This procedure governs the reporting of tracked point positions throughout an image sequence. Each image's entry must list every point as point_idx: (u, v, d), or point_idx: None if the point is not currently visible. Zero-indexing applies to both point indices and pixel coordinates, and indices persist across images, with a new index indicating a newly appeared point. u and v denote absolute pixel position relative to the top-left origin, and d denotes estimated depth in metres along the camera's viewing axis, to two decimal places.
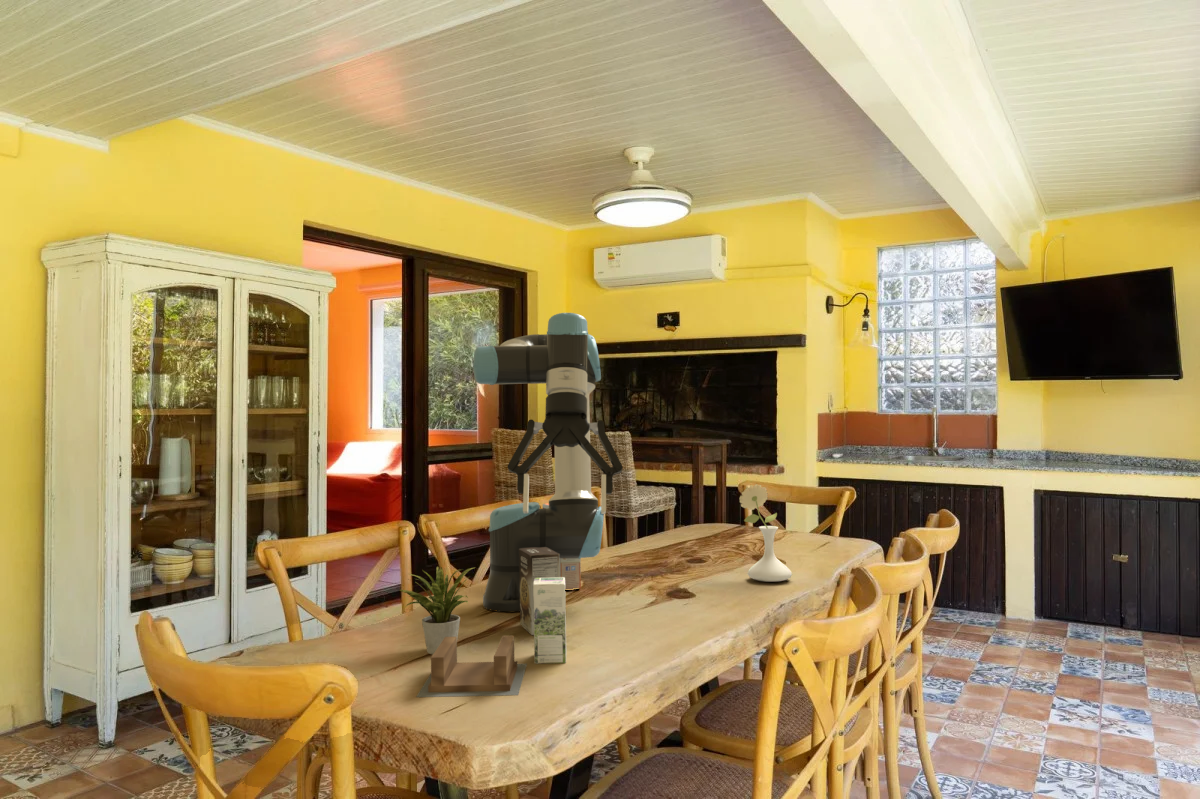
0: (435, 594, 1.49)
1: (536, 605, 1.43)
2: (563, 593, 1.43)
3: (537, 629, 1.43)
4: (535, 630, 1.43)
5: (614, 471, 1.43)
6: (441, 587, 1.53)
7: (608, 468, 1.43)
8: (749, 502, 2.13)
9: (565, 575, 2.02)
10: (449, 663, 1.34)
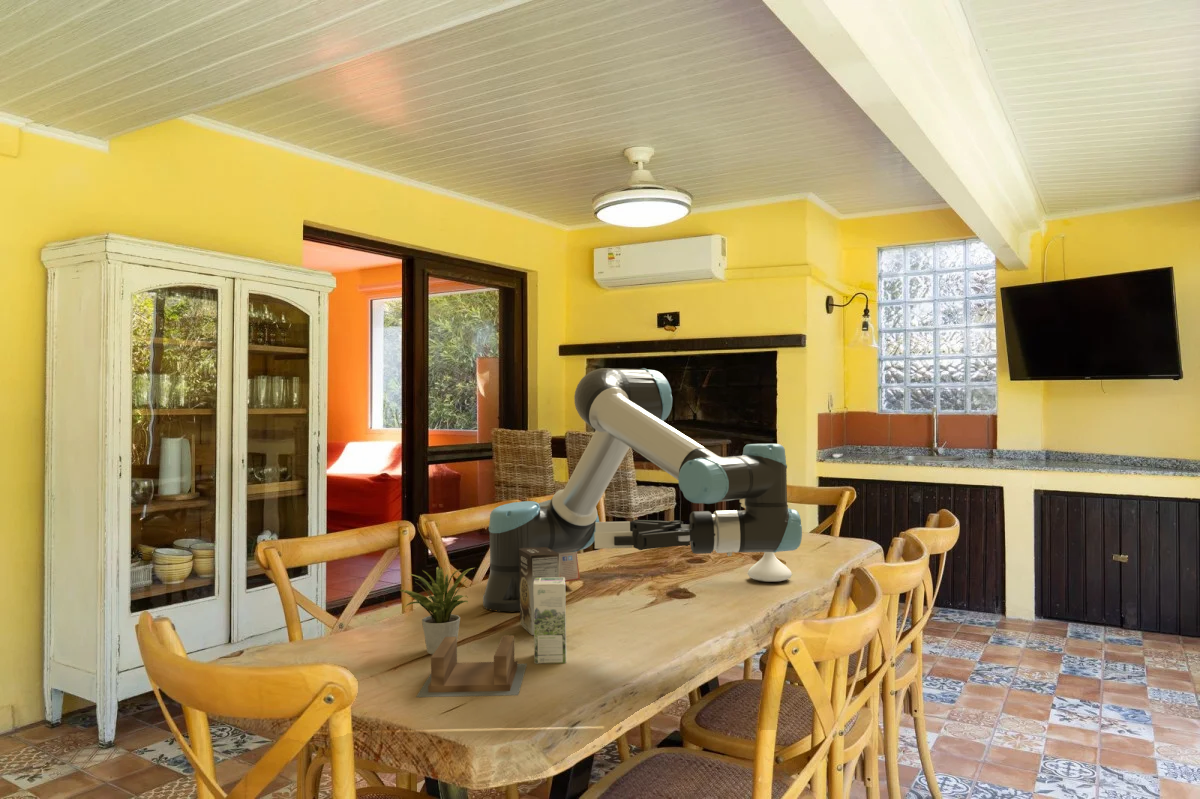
0: (435, 594, 1.49)
1: (536, 605, 1.43)
2: (563, 593, 1.43)
3: (537, 629, 1.43)
4: (535, 630, 1.43)
5: None
6: (441, 587, 1.53)
7: None
8: None
9: (563, 565, 2.03)
10: (449, 663, 1.34)
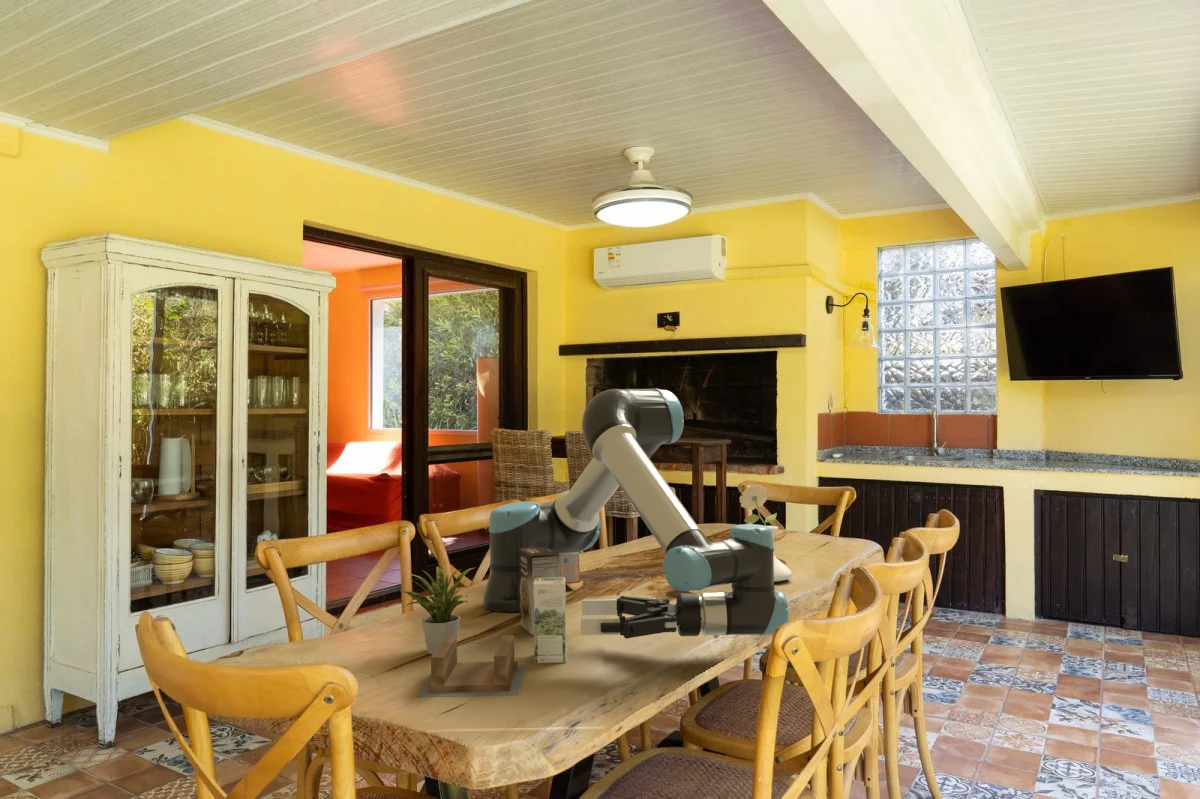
0: (435, 594, 1.49)
1: (536, 605, 1.43)
2: (563, 593, 1.43)
3: (537, 629, 1.43)
4: (535, 630, 1.43)
5: None
6: (441, 587, 1.52)
7: None
8: (749, 502, 2.13)
9: (564, 567, 2.02)
10: (449, 663, 1.34)
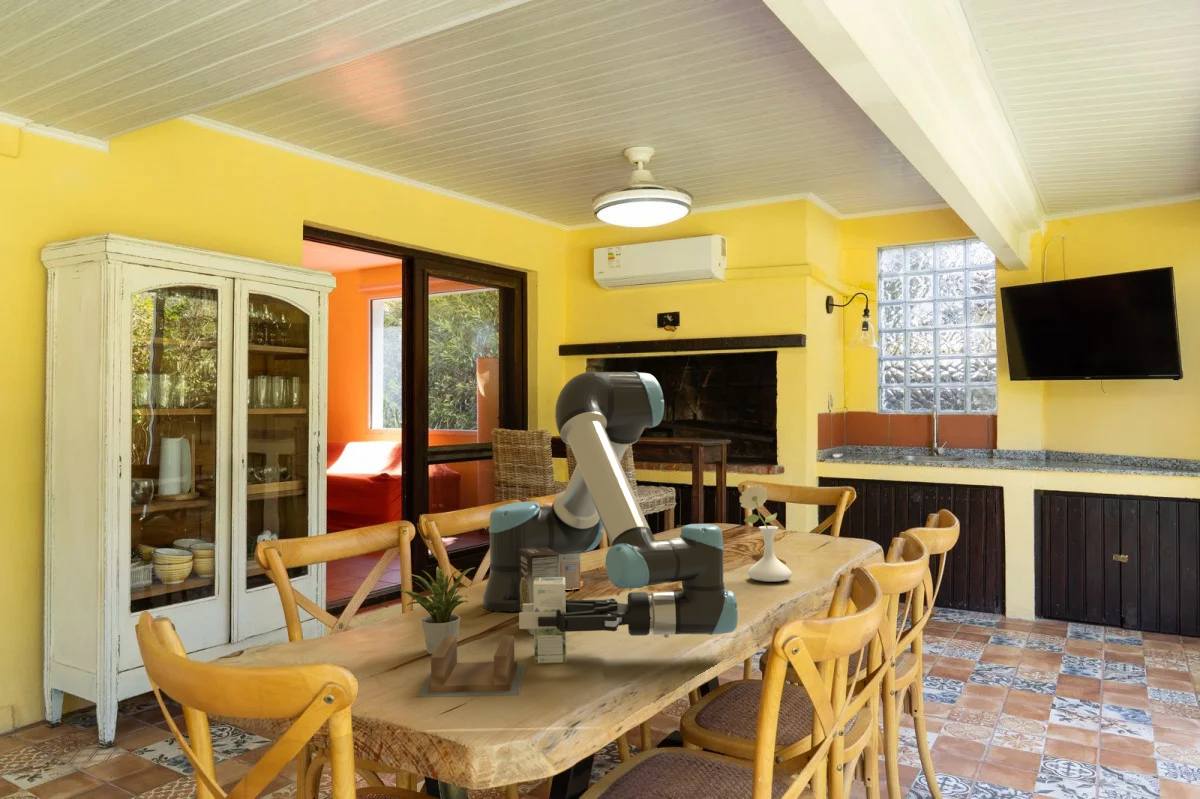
0: (435, 594, 1.49)
1: (536, 605, 1.43)
2: (563, 593, 1.43)
3: (537, 629, 1.43)
4: (535, 630, 1.43)
5: None
6: (441, 587, 1.52)
7: None
8: (749, 502, 2.13)
9: (565, 575, 2.02)
10: (449, 663, 1.34)
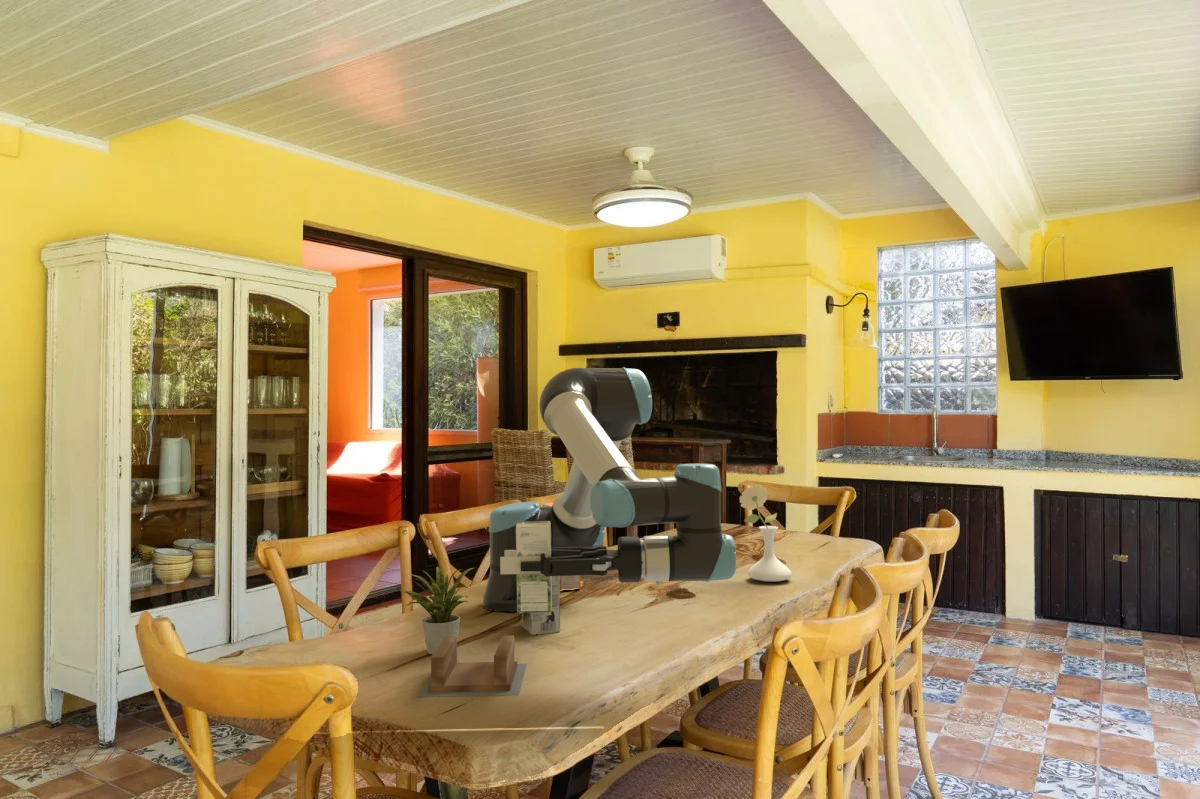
0: (435, 594, 1.49)
1: (518, 549, 1.32)
2: (548, 536, 1.32)
3: (520, 574, 1.32)
4: (518, 576, 1.32)
5: None
6: (441, 587, 1.52)
7: None
8: (749, 502, 2.13)
9: None
10: (449, 663, 1.34)
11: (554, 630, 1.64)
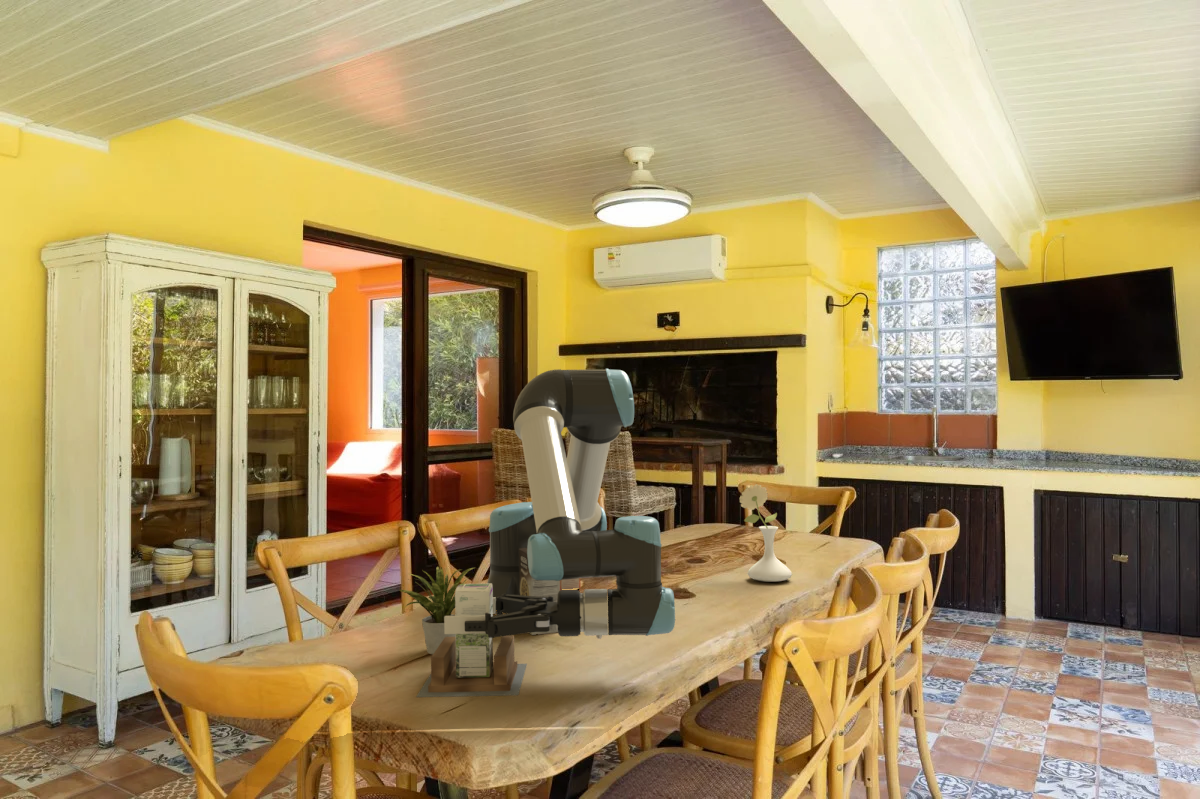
0: (435, 594, 1.49)
1: (457, 613, 1.32)
2: (487, 600, 1.33)
3: (459, 639, 1.32)
4: (457, 640, 1.32)
5: None
6: (441, 587, 1.53)
7: None
8: (749, 502, 2.13)
9: None
10: (449, 663, 1.34)
11: (554, 630, 1.64)
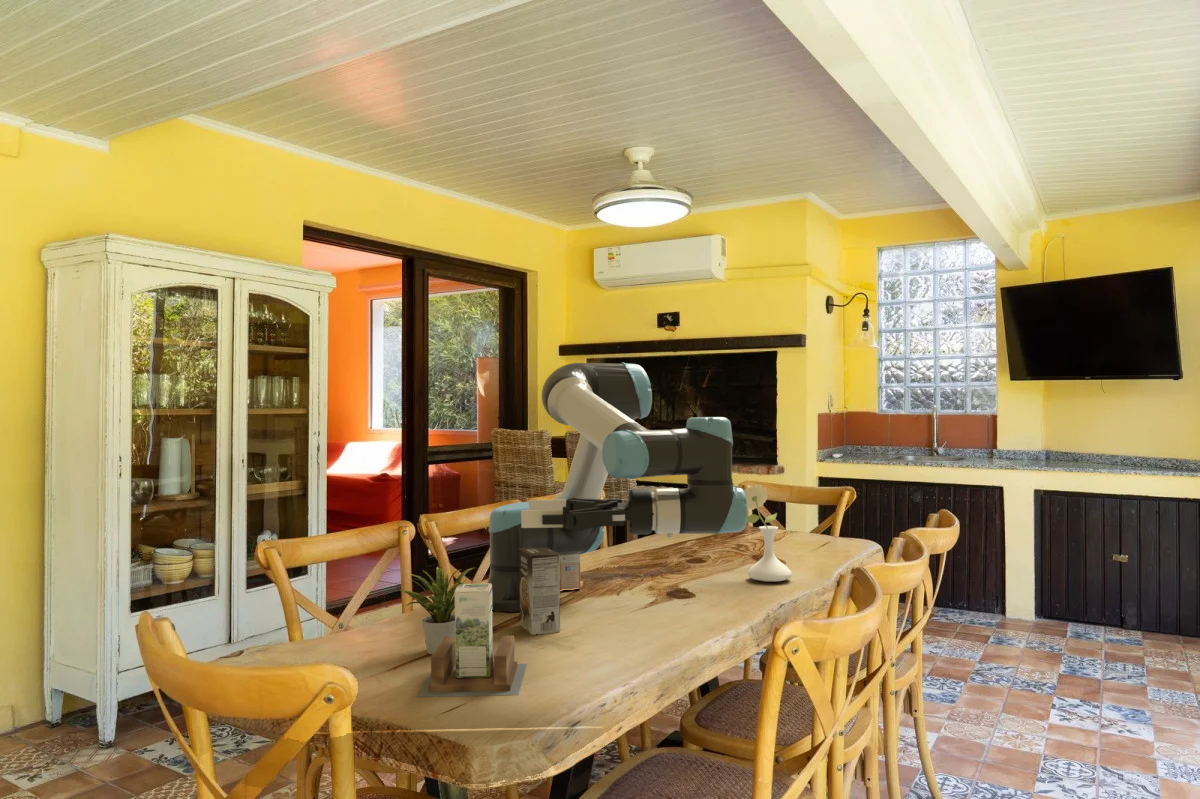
0: (435, 594, 1.49)
1: (457, 614, 1.32)
2: (487, 601, 1.33)
3: (458, 639, 1.32)
4: (456, 641, 1.32)
5: None
6: (441, 587, 1.53)
7: None
8: (749, 502, 2.13)
9: (565, 575, 2.02)
10: (449, 663, 1.34)
11: (554, 630, 1.64)
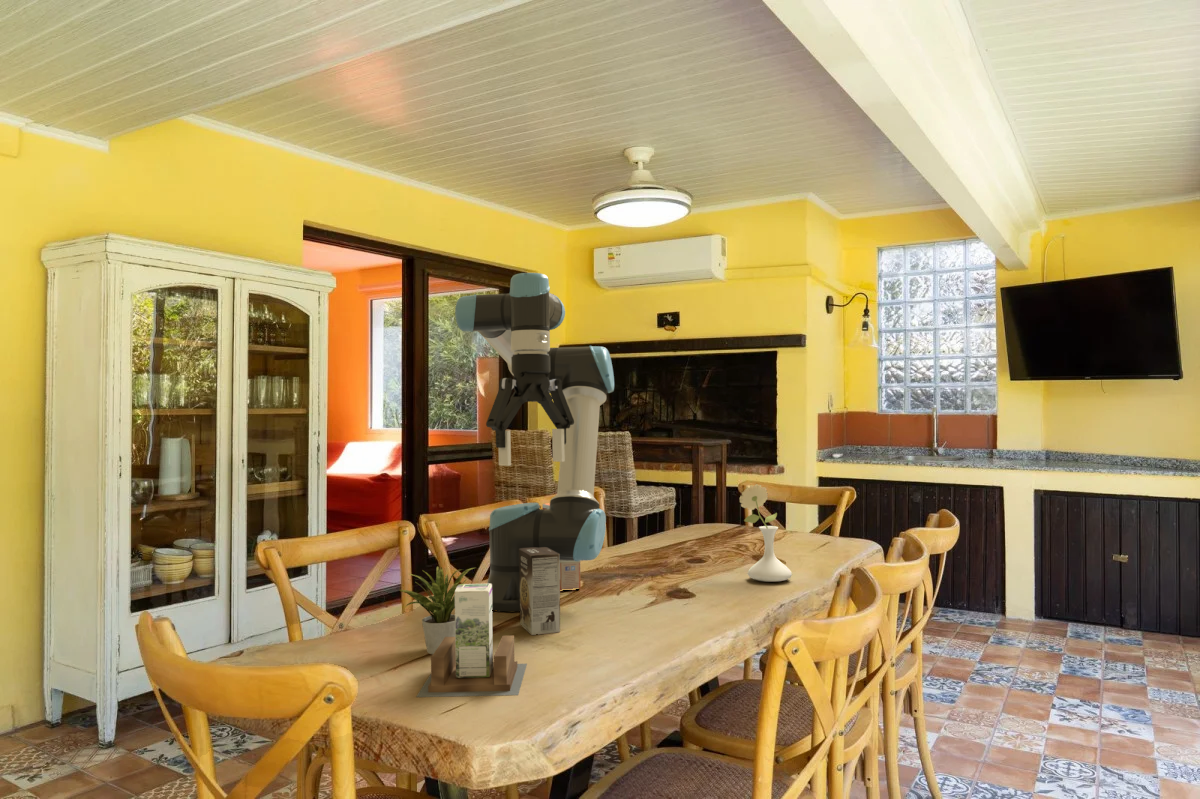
0: (435, 594, 1.49)
1: (457, 614, 1.32)
2: (487, 601, 1.33)
3: (458, 639, 1.32)
4: (456, 641, 1.32)
5: None
6: (441, 587, 1.53)
7: (565, 423, 1.62)
8: (749, 502, 2.13)
9: (565, 575, 2.02)
10: (449, 663, 1.34)
11: (554, 630, 1.64)
